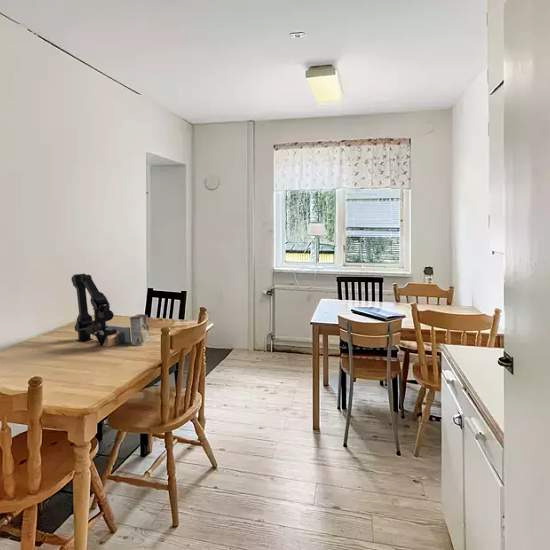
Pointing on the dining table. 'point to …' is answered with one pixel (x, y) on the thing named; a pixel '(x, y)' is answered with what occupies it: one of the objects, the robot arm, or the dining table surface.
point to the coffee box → (139, 329)
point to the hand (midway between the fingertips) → (101, 345)
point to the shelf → (122, 329)
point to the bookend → (121, 339)
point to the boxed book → (111, 340)
